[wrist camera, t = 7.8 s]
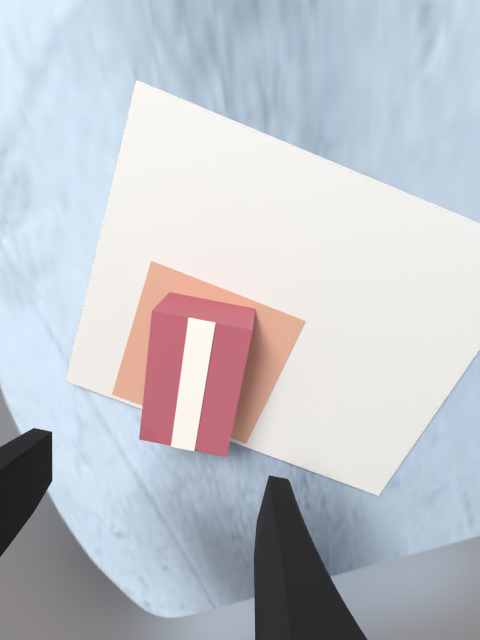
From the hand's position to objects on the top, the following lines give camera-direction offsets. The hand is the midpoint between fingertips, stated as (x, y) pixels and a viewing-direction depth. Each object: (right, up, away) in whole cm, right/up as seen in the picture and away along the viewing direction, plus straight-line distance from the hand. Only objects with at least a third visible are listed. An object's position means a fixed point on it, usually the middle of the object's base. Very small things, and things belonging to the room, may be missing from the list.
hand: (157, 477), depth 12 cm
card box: (+1, +3, +8) cm, 9 cm away
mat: (+5, +5, +8) cm, 10 cm away
